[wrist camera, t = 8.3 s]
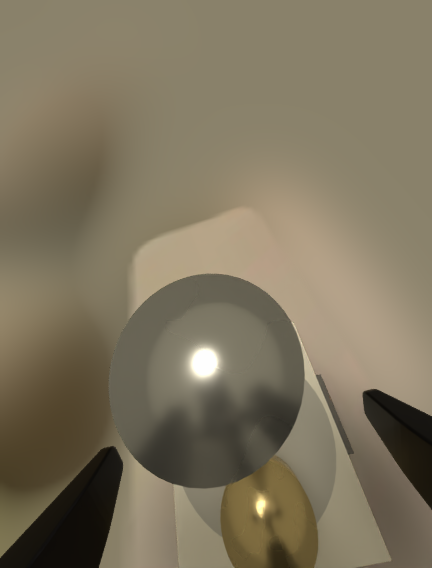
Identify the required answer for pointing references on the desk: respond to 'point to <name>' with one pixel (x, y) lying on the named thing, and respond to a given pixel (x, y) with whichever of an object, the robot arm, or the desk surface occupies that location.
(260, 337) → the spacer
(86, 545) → the robot arm
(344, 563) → the scale
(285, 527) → the brass weight
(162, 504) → the desk surface
